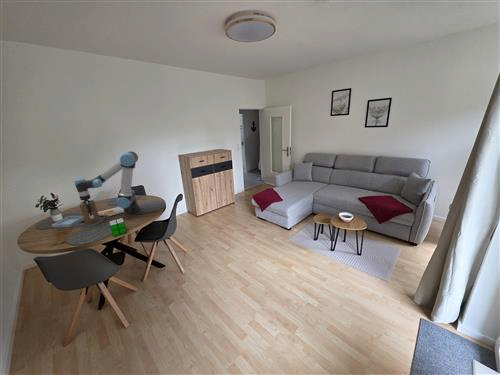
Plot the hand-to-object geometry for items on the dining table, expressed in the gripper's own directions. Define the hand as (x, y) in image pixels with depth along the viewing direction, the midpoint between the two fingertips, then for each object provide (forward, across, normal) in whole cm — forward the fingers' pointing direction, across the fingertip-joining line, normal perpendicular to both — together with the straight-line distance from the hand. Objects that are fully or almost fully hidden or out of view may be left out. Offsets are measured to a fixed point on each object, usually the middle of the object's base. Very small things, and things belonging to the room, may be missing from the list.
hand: (91, 216), depth 190 cm
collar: (+5, 0, 0) cm, 5 cm away
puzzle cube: (+6, +44, +14) cm, 47 cm away
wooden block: (+5, 0, 0) cm, 5 cm away
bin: (+5, -14, -16) cm, 22 cm away
